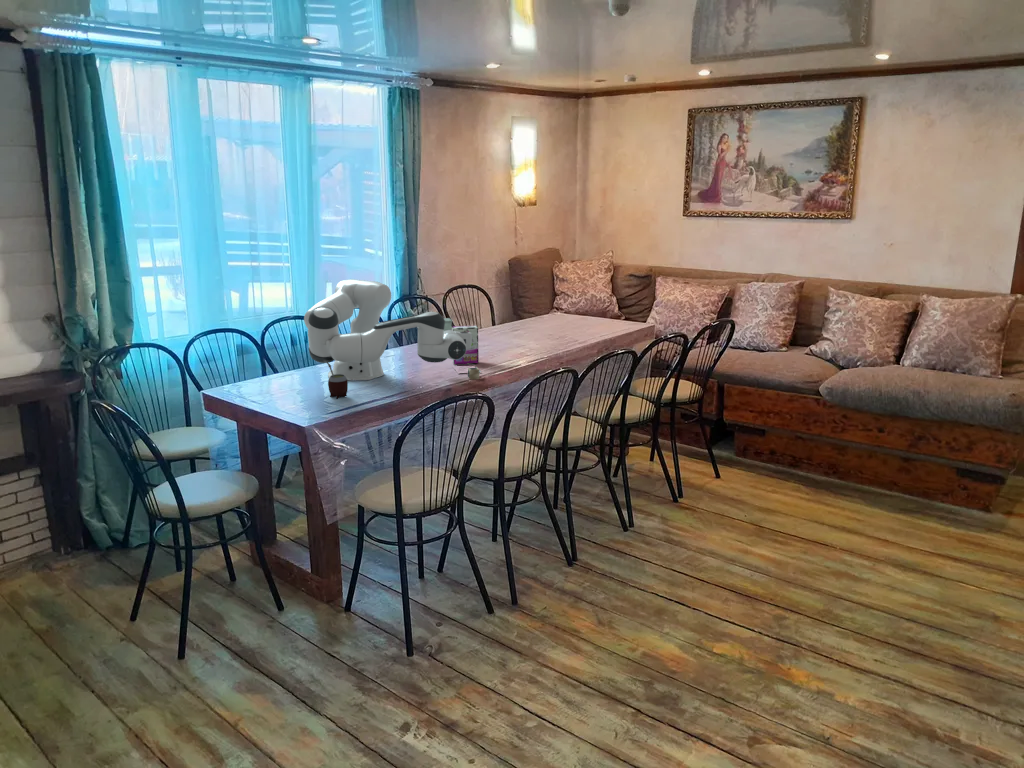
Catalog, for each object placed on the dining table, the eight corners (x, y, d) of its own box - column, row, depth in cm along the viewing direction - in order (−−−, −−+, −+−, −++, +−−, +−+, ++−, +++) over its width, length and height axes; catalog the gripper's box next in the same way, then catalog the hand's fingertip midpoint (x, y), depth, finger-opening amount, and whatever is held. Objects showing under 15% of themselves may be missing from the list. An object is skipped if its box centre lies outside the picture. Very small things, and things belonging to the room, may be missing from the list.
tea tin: (438, 357, 308) (437, 321, 304) (435, 354, 313) (435, 318, 309) (452, 357, 309) (451, 320, 305) (449, 354, 315) (449, 318, 311)
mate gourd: (349, 394, 288) (347, 355, 284) (346, 400, 280) (344, 360, 276) (329, 394, 287) (327, 355, 283) (325, 400, 280) (323, 360, 276)
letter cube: (469, 379, 310) (469, 369, 309) (467, 377, 314) (467, 367, 313) (479, 379, 311) (479, 369, 310) (477, 376, 315) (477, 367, 314)
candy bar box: (477, 361, 341) (477, 325, 336) (478, 364, 336) (478, 327, 332) (452, 362, 339) (451, 325, 334) (453, 365, 334) (453, 328, 330)
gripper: (423, 350, 295) (418, 343, 308) (474, 348, 300) (467, 341, 313) (422, 334, 294) (417, 328, 307) (474, 332, 299) (467, 326, 312)
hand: (443, 335), depth 310 cm, fingers closed on tea tin, 5 cm apart
